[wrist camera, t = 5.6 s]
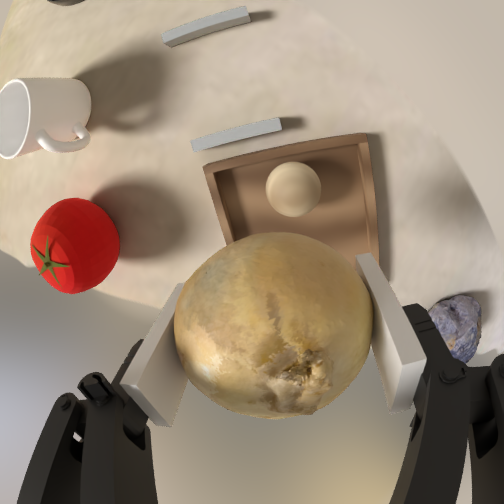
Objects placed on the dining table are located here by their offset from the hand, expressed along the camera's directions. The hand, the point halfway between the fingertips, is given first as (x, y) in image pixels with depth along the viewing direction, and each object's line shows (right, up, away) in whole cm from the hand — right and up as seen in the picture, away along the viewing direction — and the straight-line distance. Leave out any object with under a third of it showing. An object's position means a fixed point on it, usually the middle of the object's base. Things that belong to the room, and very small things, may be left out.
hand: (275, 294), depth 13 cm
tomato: (-21, +5, +18) cm, 28 cm away
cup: (-22, +18, +12) cm, 31 cm away
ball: (+3, +9, +13) cm, 16 cm away
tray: (+4, +5, +16) cm, 17 cm away
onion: (0, 0, +1) cm, 1 cm away
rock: (+28, -8, +20) cm, 35 cm away
